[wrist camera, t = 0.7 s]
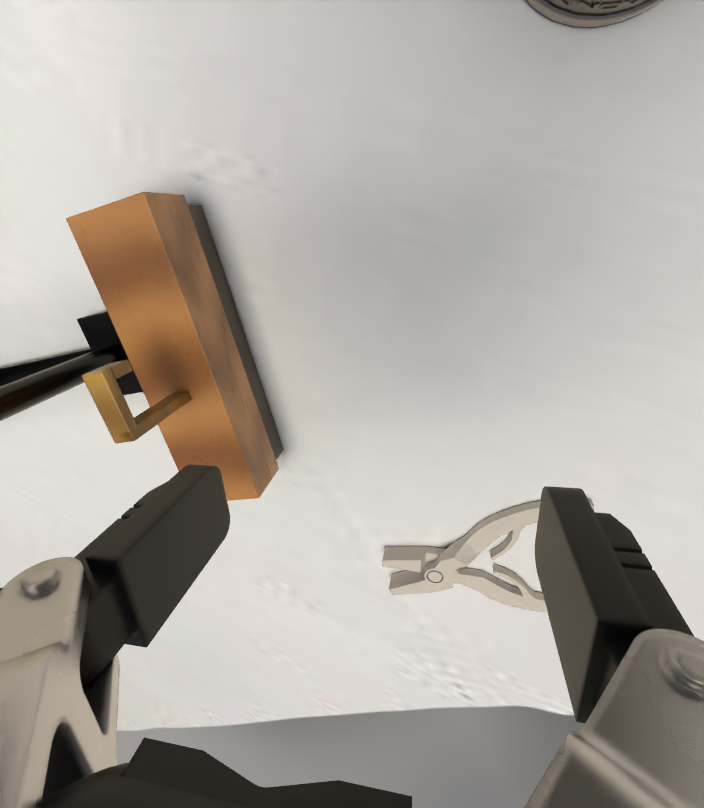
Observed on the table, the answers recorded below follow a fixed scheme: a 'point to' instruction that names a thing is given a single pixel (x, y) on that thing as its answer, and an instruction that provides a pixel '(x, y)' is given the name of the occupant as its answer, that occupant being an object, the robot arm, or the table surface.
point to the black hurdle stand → (64, 369)
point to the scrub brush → (177, 340)
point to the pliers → (468, 562)
